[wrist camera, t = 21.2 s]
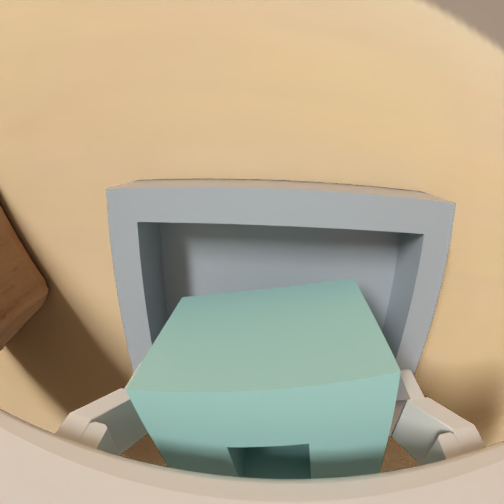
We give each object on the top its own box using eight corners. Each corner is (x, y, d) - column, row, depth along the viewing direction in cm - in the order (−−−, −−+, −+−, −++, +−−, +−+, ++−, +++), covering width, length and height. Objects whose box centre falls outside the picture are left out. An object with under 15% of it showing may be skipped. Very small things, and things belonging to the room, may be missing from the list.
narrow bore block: (217, 413, 13) (195, 505, 8) (182, 297, 11) (125, 389, 6) (352, 402, 12) (371, 497, 7) (353, 278, 10) (401, 371, 6)
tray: (165, 396, 17) (150, 432, 14) (139, 180, 13) (106, 188, 10) (373, 406, 16) (384, 443, 13) (421, 191, 12) (455, 203, 9)
